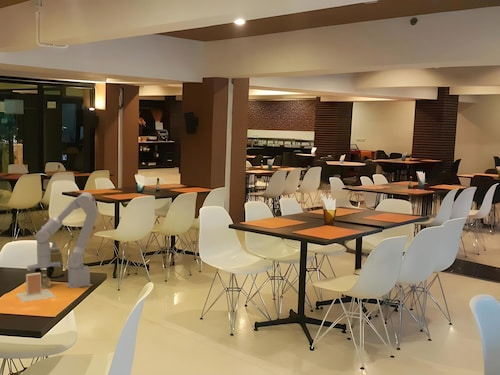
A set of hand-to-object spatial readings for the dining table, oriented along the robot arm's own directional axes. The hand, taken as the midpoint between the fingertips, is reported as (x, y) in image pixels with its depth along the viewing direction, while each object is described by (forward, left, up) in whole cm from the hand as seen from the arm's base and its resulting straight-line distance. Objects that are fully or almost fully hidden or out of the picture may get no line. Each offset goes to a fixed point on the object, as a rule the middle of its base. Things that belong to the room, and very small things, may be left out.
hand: (44, 283), depth 260 cm
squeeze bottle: (-9, -16, -2) cm, 18 cm away
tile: (+7, +10, -1) cm, 12 cm away
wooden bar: (0, 0, -1) cm, 1 cm away
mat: (+7, +13, -1) cm, 15 cm away
